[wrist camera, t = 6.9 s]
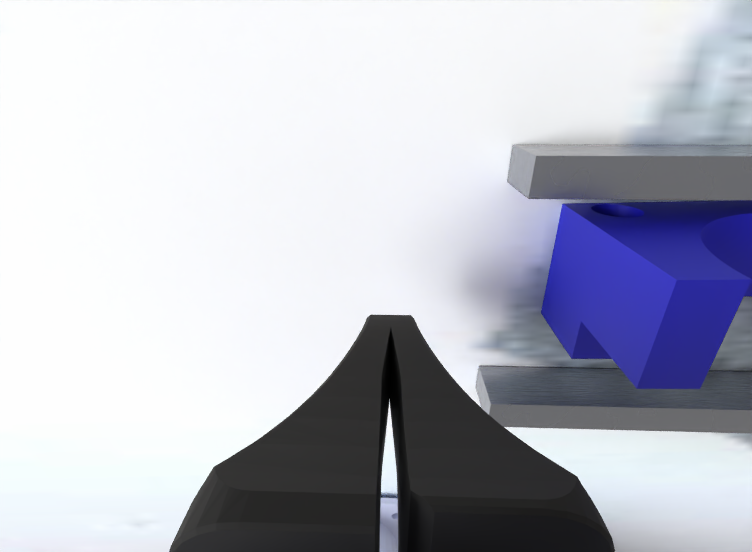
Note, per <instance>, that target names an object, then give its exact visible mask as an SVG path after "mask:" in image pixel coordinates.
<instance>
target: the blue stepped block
mask: <svg viewBox="0 0 752 552" xmlns="http://www.w3.org/2000/svg"><path fill="white" fill-rule="evenodd" d="M744 296H752V200H736V201H681V202H627V203H572V204H562V209H561V214H560V219H559V224H558V230H557V235H556V240H555V245H554V250H553V255H552V260H551V265H550V270H549V275H548V280H547V285H546V290H545V295H544V300H543V305H542V310H541V314H542V315H543V317H544V318H545V320H546V321H547V323H548V324H549V326H550V327H551V329H552V330H553V332H554V333H555V335H556V336H557V338H558V339H559V341H560V342H561V344H562V345H563V347H564V348H565V350H566V351H567V353H568V354H569V356H570V357H571V359H613V360H614V362H615V363H616V364H617V365H618V367H619V368H620V369H621V370H622V371H623V373H624V374H625V375H626V376H627V378H628V379H629V380H630V381H631V382H632V384H633V385H634V386H635V387H636V389H700V388H701V386H702V384H703V382H704V380H705V377H706V375H707V373H708V371H709V369H710V367H711V365H712V362H713V360H714V358H715V356H716V354H717V352H718V350H719V348H720V345H721V343H722V341H723V339H724V337H725V335H726V333H727V331H728V328H729V326H730V324H731V322H732V320H733V318H734V316H735V314H736V311H737V309H738V307H739V305H740V303H741V301H742V299H743V297H744Z"/></svg>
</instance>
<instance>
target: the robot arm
mask: <svg viewBox="0 0 752 552" xmlns="http://www.w3.org/2000/svg"><path fill="white" fill-rule="evenodd" d="M389 398H390V408H391V418H392V428H393V438H394V447H395V457H396V468H397V491H398V498H381V475H382V462H383V453H384V444H385V435H386V426H387V417H388V408H389ZM169 552H615V549H614V545H613V541H612V537H611V535H610V533H609V531H608V529H607V527H606V525H605V523H604V521H603V519H602V517H601V515H600V513H599V512H598V510H597V508H596V506H595V505H594V503H593V501H592V500H591V498H590V497H589V495H588V493H587V492H586V490H585V489H584V487H583V486H582V484H581V482H580V481H579V479H578V477H577V476H575V475H574V474H572V473H570V472H569V471H567V470H566V469H564V468H562V467H561V466H559V465H558V464H556V463H555V462H553V461H551V460H550V459H548V458H547V457H545V456H543V455H542V454H540V453H539V452H537V451H536V450H534V449H533V448H531V447H530V446H528V445H527V444H526V443H524V442H523V441H521V440H520V439H519V438H517V437H516V436H515V435H513V434H512V433H511V432H509V431H508V430H507V429H505V428H504V427H503V426H502V425H501V424H499V423H498V422H497V421H496V420H495V419H493V418H492V417H491V416H490V415H489V414H488V413H486V412H485V411H484V410H483V409H482V408H481V407H480V406H479V405H478V404H477V403H475V402H474V401H473V400H472V399H471V398H470V397H469V396H468V394H467V393H466V392H465V391H464V390H463V389H462V388H461V387H460V386H459V385H458V384H457V383H456V381H455V380H454V379H453V378H452V377H451V375H450V374H449V373H448V372H447V370H446V369H445V368H444V367H443V365H442V364H441V363H440V361H439V360H438V359H437V357H436V356H435V354H434V353H433V351H432V350H431V348H430V347H429V345H428V344H427V342H426V341H425V339H424V337H423V336H422V334H421V332H420V330H419V328H418V326H417V324H416V322H415V320H414V318H413V317H412V316H411V315H370V316H369V317H368V318H367V319H366V322H365V324H364V326H363V328H362V330H361V332H360V334H359V336H358V337H357V339H356V341H355V342H354V344H353V345H352V347H351V348H350V350H349V351H348V353H347V354H346V356H345V357H344V358H343V360H342V361H341V362H340V364H339V365H338V366H337V368H336V369H335V370H334V371H333V373H332V374H331V375H330V376H329V377H328V379H327V380H326V381H325V382H324V383H323V384H322V385H321V386H320V387H319V388H318V389H317V391H316V392H315V393H314V394H313V395H312V396H311V397H309V398H308V399H307V400H306V401H305V402H304V403H303V404H302V405H301V406H300V407H299V408H298V409H297V410H295V411H294V412H293V413H292V414H291V415H290V416H289V417H287V418H286V419H285V420H284V421H282V422H281V423H280V424H278V425H277V426H276V427H274V428H273V429H272V430H270V431H269V432H268V433H267V434H265V435H264V436H263V437H261V438H260V439H258V440H257V441H255V442H254V443H252V444H251V445H249V446H247V447H246V448H244V449H243V450H241V451H239V452H238V453H236V454H235V455H233V456H231V457H230V458H228V459H227V460H225V461H223V462H222V463H220V464H218V465H216V466H215V467H214V468H213V469H212V471H211V472H210V474H209V476H208V477H207V479H206V481H205V482H204V484H203V485H202V487H201V488H200V490H199V492H198V493H197V495H196V497H195V498H194V500H193V502H192V504H191V506H190V508H189V510H188V512H187V514H186V516H185V518H184V520H183V522H182V524H181V526H180V528H179V531H178V533H177V535H176V537H175V539H174V541H173V543H172V545H171V548H170V551H169Z"/></svg>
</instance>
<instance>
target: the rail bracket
mask: <svg viewBox="0 0 752 552" xmlns="http://www.w3.org/2000/svg"><path fill="white" fill-rule="evenodd" d="M507 182H508V183H509V184H510V185H512V186H513V187H514V188H515V189H517V190H518V191H519V192H520V193H522V194H523V195H524V196H525V197H527V198H528V199H635V200H752V145H513V146H512V153H511V159H510V166H509V172H508V179H507ZM476 390H477V394H478V397H479V401H480V404H481V408H482V409H483V410H484V411H485V412H486V413H488V414H489V415H490V416H491V417H492V418H493V419H495V420H496V421H497V422H498V423H499V424H501V425H502V426H503V427H530V428H568V429H606V430H644V431H683V432H721V433H752V372H735V371H708V373H707V375H706V377H705V380H704V382H703V384H702V386H701V388H700V389H636V387H635V386H634V385H633V384H632V382H631V381H630V380H629V379H628V378H627V376H626V375H625V374H624V373H623V371H622V370H621V369H592V368H544V367H496V366H479V368H478V375H477V381H476Z"/></svg>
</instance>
